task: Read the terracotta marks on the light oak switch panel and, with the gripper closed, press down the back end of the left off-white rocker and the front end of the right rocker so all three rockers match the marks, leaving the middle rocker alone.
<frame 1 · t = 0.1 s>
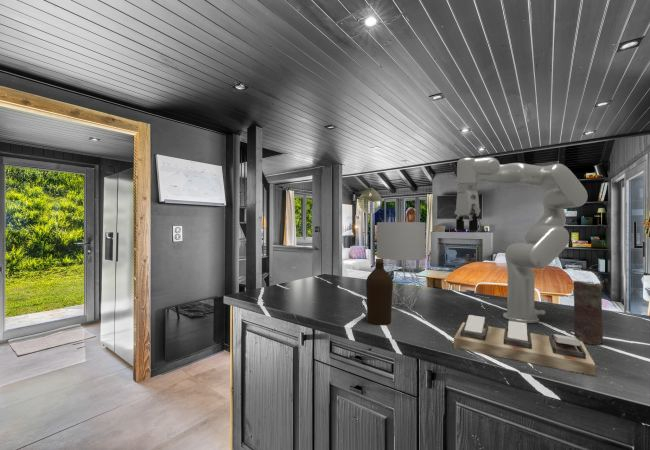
hand: (466, 230, 126), 37 cm above the counter, tool pointing down, fingers open, 9 cm apart
rocker left: (474, 325, 102), point 5 cm above the counter, hinge at -12.0°
candle: (587, 341, 104), on the counter
switch panel: (517, 349, 96), on the counter
rocker right: (565, 339, 90), point 5 cm above the counter, hinge at 12.0°
rocker middle: (517, 332, 96), point 5 cm above the counter, hinge at -12.0°
table lamp: (400, 306, 146), on the counter
olive oil: (379, 322, 123), on the counter
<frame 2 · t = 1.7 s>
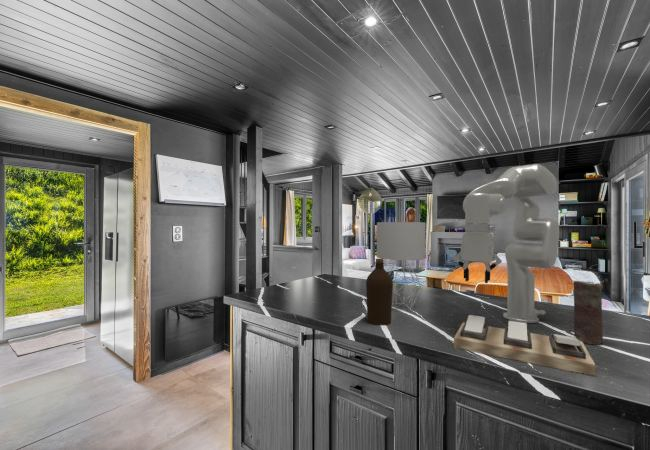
hand: (476, 281, 106), 19 cm above the counter, tool pointing down, fingers open, 5 cm apart
nothing on the counter moved.
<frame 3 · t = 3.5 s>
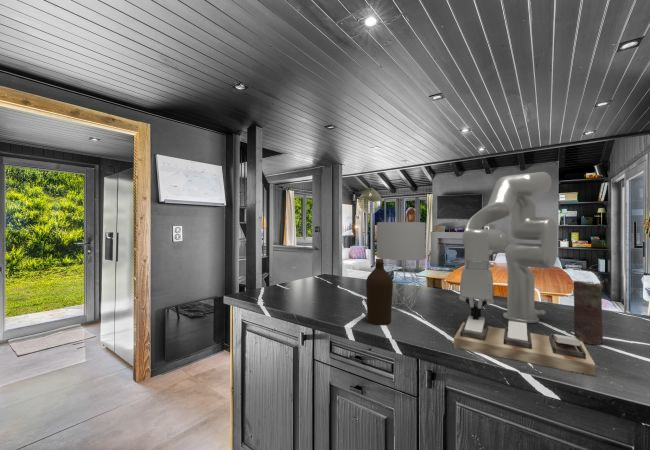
hand: (475, 318, 106), 7 cm above the counter, tool pointing down, fingers closed
rocker left: (474, 325, 102), point 5 cm above the counter, hinge at -9.9°, touching gripper
everything else where it was.
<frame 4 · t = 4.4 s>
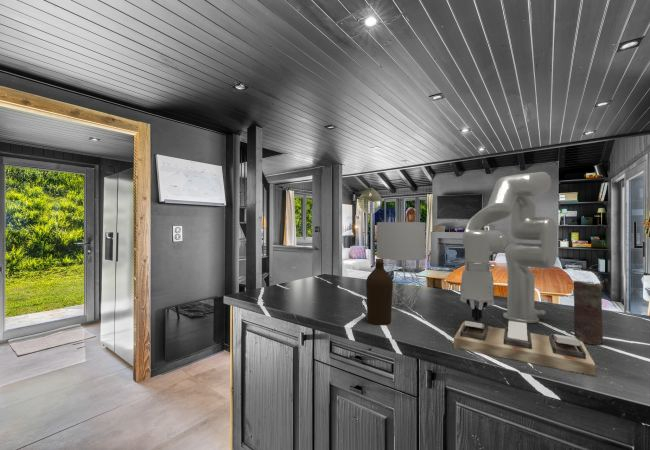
hand: (476, 319, 106), 6 cm above the counter, tool pointing down, fingers closed
rocker left: (475, 325, 103), point 5 cm above the counter, hinge at 17.2°
everything else where it was.
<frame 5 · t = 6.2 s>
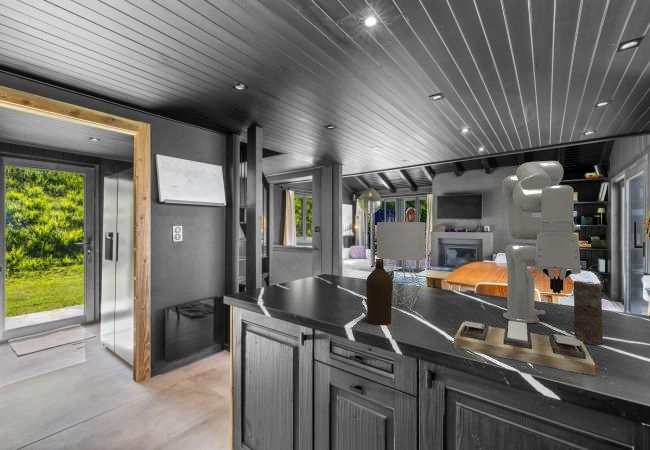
hand: (556, 292, 88), 20 cm above the counter, tool pointing down, fingers closed
rocker left: (475, 325, 103), point 5 cm above the counter, hinge at 16.0°
everything else where it was.
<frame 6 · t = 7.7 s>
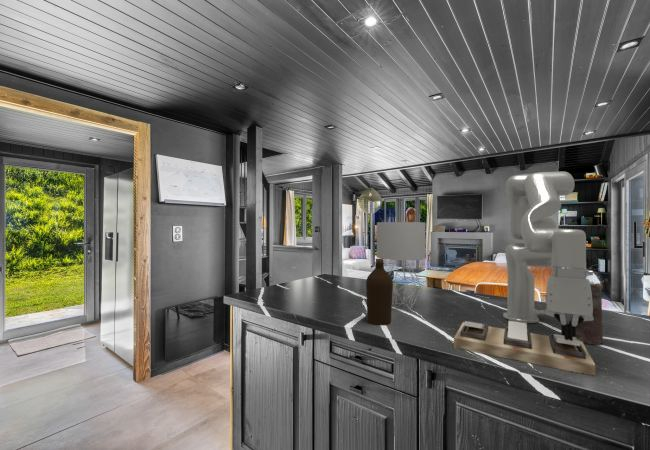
hand: (568, 338, 86), 7 cm above the counter, tool pointing down, fingers closed
rocker right: (565, 339, 90), point 5 cm above the counter, hinge at 11.8°, touching gripper
everything else where it was.
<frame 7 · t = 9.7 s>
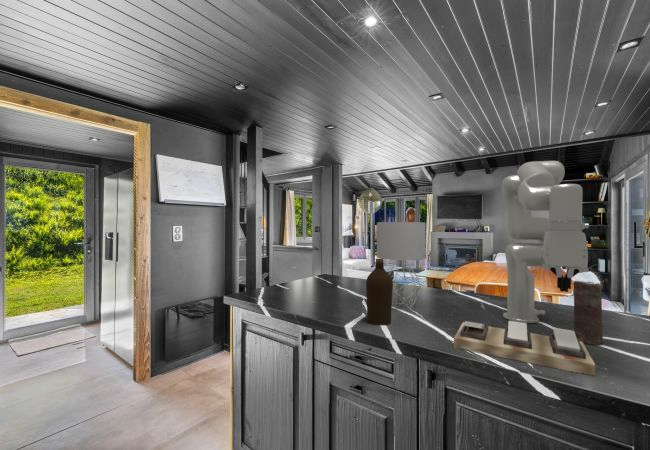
hand: (563, 290, 89), 20 cm above the counter, tool pointing down, fingers closed
rocker right: (565, 339, 90), point 5 cm above the counter, hinge at -10.0°
everything else where it was.
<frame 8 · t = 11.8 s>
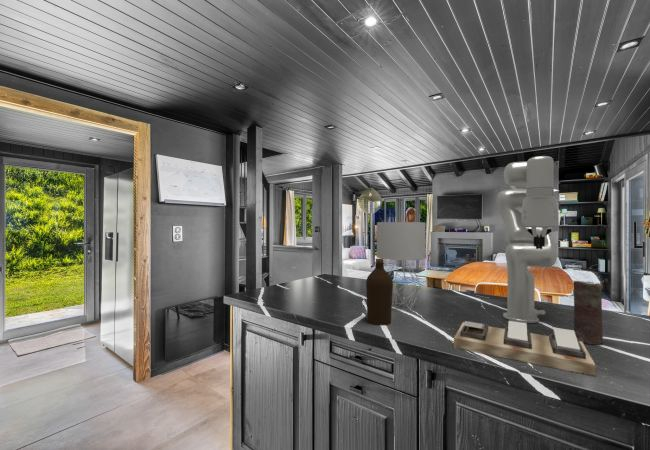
hand: (539, 248, 103), 31 cm above the counter, tool pointing down, fingers closed
rocker right: (565, 340, 90), point 5 cm above the counter, hinge at -11.1°
everything else where it was.
at the end: rocker left at +16° (first picture: -12°); rocker right at -11° (first picture: +12°); rocker middle at -12° (first picture: -12°) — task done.
